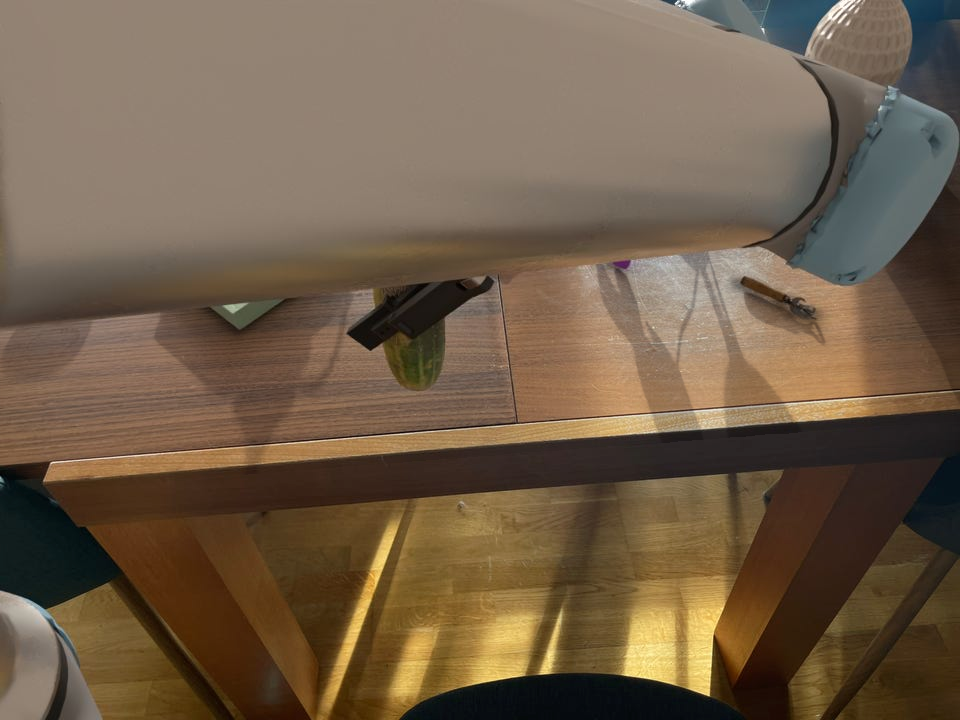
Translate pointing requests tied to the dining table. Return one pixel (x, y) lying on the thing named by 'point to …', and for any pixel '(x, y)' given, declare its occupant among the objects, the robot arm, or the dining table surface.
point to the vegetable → (413, 350)
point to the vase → (864, 39)
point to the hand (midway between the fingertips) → (371, 312)
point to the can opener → (780, 297)
